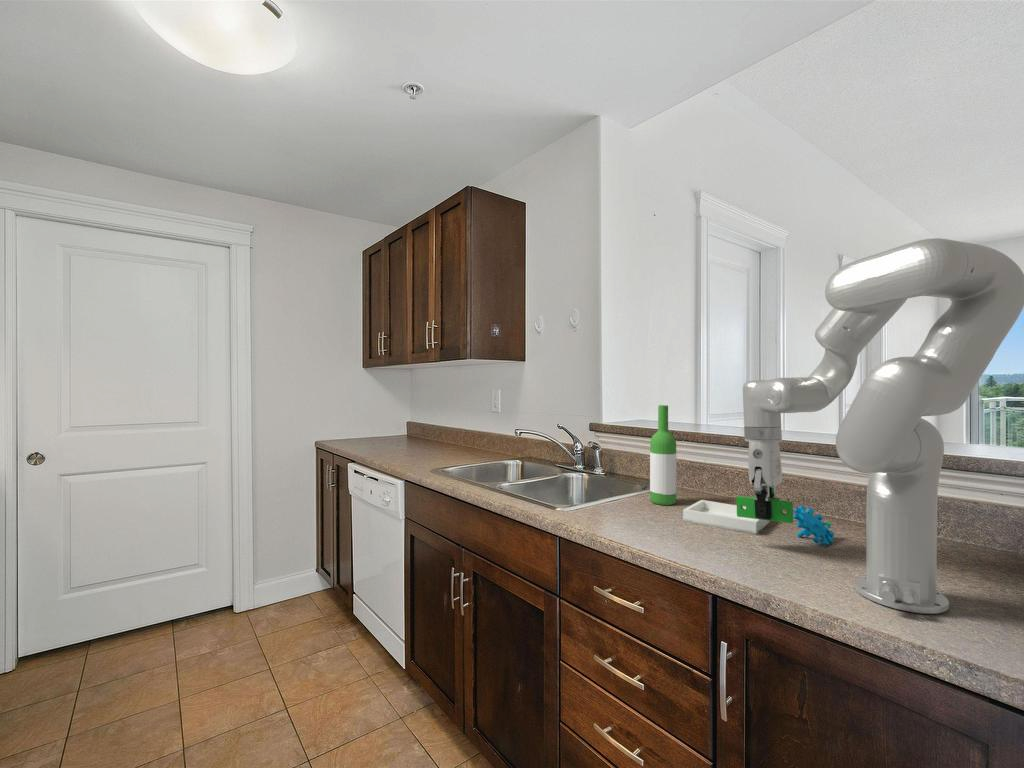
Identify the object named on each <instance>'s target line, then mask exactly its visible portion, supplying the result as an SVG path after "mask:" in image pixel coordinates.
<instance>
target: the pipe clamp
mask: <svg viewBox="0 0 1024 768" xmlns="http://www.w3.org/2000/svg"><path fill="white" fill-rule="evenodd" d="M735 499H736V500H735V501H736V505H737V517H745V518H753V519H760V520H768V519H761V518H756V517H755V495H753V496H752V497H749V496H742V495H741V496H739V495H736V497H735ZM769 501H771V513H772V518H771V519H770V520H768V521H770V522H777V523H784V524H793V523H794V518H793V515H794V512H793V511H794V508H793V507H794V506H793V501H788V500H781V499H780V498H779V497H774V498H773V499H769ZM742 506H744V507H746V509H744V508H743V507H742ZM783 510H784V511H786V513H784V512H783Z"/></svg>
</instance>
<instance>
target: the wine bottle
mask: <svg viewBox="0 0 1024 768" xmlns="http://www.w3.org/2000/svg"><path fill="white" fill-rule="evenodd" d="M657 407H658V408H657V409H658V410H657V411H658V412H657V414H658V415H657V416H658V417H657V420H658V421H657V431H656V432H655V433H654V434H653V435H652V436H651V438H650V443H649V444H650V445H649V454H650V455H649V497H650V502H652V503H653V504H655V505H660V506H670V505H674V504H675V503H676V502H677V442H676V439H675V437H674V435H673V434H672V433H671V432H670V431H669V406H668V404H660V405H658V406H657Z"/></svg>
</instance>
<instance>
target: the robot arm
mask: <svg viewBox="0 0 1024 768" xmlns="http://www.w3.org/2000/svg"><path fill="white" fill-rule="evenodd" d="M824 290H825V291H824V294H825V295H824V296H825V299H826V302H827V303H828V305H829V306H831V307H832V309H831V311H830V312H829V313H828V314H827V315H826V316H825V318H824V319H823V321H822V322H821V323H820V324H819V326H817V328H816V329H815V332H814V337H815V340H816V342H817V343H818V344H819V345H820V346H821V347H823V349H824V355H823V357H822V359H821V361H820V363H819V364H818V365H817V366H816V368H815V369H814V370H813V371H812V372H811V373H810V374H809V375H808V377H803V376H802V377H797V376H796V377H779V378H778V377H777V378H772V379H767V380H765V379H759V380H750V381H748V380H747V381H746V382H744V384H743V386H742V401H743V404H742V405H743V431H744V433H743V434H744V435H743V436H744V441H745V442H748V449H747V450H748V480H749V485H751V486H752V487H753V491H754V496H755V517H756V518H761V519H768V520H770V519H771V518H772V513H771V501H769V499H773V498H776V487H778V486H779V485H780V484H782V482H783V480H784V479H783V471H782V467H783V466H782V456H781V449H780V443H782V442H783V439H782V438H783V436H782V435H783V434H782V414H797V413H815V412H818V411H821V410H823V409H825V408H826V407H828V406H829V405H830V404H832V402H834V401H835V400H836V399H837V398H838V396H840V394H842V392H843V391H845V389H846V388H847V387H848V385H849V384H850V382H851V380H852V379H853V376H854V374H855V371H856V368H857V365H858V357H859V354H860V353H861V352H862V351H863V350H864V348H866V346H867V345H868V344H869V343H870V342H871V341H872V340H873V338H874V337H875V336H876V335H877V334H878V333H879V332H880V331H881V330H882V329H883V327H884V326H885V325H886V324H887V323H888V322H889V321H890V320H891V319H892V318H893V316H894V315H895V314H896V313H897V312H898V311H899V310H900V308H902V307H903V306H904V304H905V303H906V301H907V300H908V299H912V298H913V299H914V298H918V297H930V298H931V297H933V298H943V299H949V300H950V301H951V304H950V305H949V307H948V308H947V310H946V311H945V312H944V313H943V314H942V315H940V317H939V318H938V319H937V320H936V321H935V322H934V323H933V325H932V326H931V327H930V329H929V331H928V333H927V335H926V337H925V339H924V341H923V343H922V344H921V346H920V347H919V349H918V350H917V352H915V353H914V355H913V356H898V357H893V358H890V359H887V360H885V361H883V362H880V364H878V365H877V366H875V367H874V368H873V369H872V370H871V371H870V372H869V373H868V375H867V376H866V377H865V379H864V380H863V382H862V384H861V386H860V387H859V389H858V391H857V393H856V395H855V397H854V399H853V400H852V403H851V404H850V406H849V408H848V409H847V412H846V414H845V415H844V417H843V419H842V420H841V424H840V426H839V427H838V430H837V433H836V436H835V449H836V454H837V455H838V457H839V459H840V460H841V462H842V463H843V464H844V465H846V467H848V468H849V469H851V470H853V471H855V472H858V473H862V474H867V475H868V474H869V477H868V482H867V488H866V502H865V503H866V507H865V508H866V510H865V511H866V515H865V517H866V518H865V520H866V522H865V524H866V525H865V528H866V529H865V532H866V533H865V535H866V536H865V537H866V539H865V541H866V542H865V550H866V551H865V559H866V560H865V562H866V563H865V576H861V577H860V578H857V579H856V580H855V589H856V591H857V592H858V593H859V594H860V595H861V596H863V597H864V598H866V599H868V600H870V601H871V602H875V603H876V604H879V605H882V606H886V607H888V608H890V609H891V608H893V609H895V610H898V611H899V610H900V611H902V612H903V611H904V612H910V613H916V614H923V615H926V614H927V615H933V614H935V615H936V614H942V613H946V612H947V611H949V609H950V601H949V599H948V598H947V597H946V596H945V595H943V594H942V592H939V591H938V590H937V588H938V586H937V584H938V583H937V580H938V579H937V577H938V575H937V574H938V571H937V569H938V567H937V565H938V562H937V560H938V559H937V557H938V554H937V553H938V494H939V493H938V492H939V482H940V475H941V471H942V467H943V461H944V454H945V444H944V439H943V436H942V435H941V433H940V431H939V430H938V429H937V427H936V426H935V425H933V423H931V422H930V421H928V420H926V419H924V418H923V417H934V416H942V415H947V414H948V415H949V414H952V413H953V412H955V411H957V410H959V409H960V408H961V407H962V406H963V405H965V403H966V402H967V400H968V398H969V397H970V395H971V394H972V391H974V389H975V387H976V385H977V384H978V382H979V381H980V378H981V377H982V376H983V374H984V373H985V371H986V369H987V368H988V367H989V365H990V363H991V362H992V360H993V358H994V357H995V354H996V352H998V349H999V348H1000V346H1001V345H1002V343H1003V341H1004V340H1005V339H1006V337H1007V335H1008V334H1009V332H1010V330H1011V329H1012V328H1013V326H1014V325H1015V323H1016V322H1017V320H1018V318H1019V317H1020V316H1021V313H1022V312H1023V309H1024V272H1023V271H1022V269H1021V267H1020V266H1019V265H1018V264H1017V262H1015V261H1014V260H1013V259H1012V258H1010V257H1009V256H1008V255H1006V254H1005V253H1003V252H1001V251H999V250H997V249H995V248H992V247H989V246H986V245H981V244H977V243H972V242H967V241H966V242H963V241H958V240H954V239H948V238H941V237H940V238H938V237H936V238H924V239H920V240H916V241H912V242H909V243H905V244H902V245H899V246H896V247H893V248H890V249H888V250H884V251H881V252H879V253H875V254H872V255H868V256H866V257H862V258H859V259H856V260H854V261H852V262H851V261H850V262H849V263H846V264H845V265H843V266H842V267H840V268H838V269H837V270H836V271H835V272H834V273H832V275H831V276H830V277H829V278H828V281H827V283H826V285H825V289H824Z"/></svg>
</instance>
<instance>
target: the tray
mask: <svg viewBox="0 0 1024 768" xmlns="http://www.w3.org/2000/svg"><path fill="white" fill-rule="evenodd" d="M742 507H743V508H744V509H746V506H745V505H742ZM682 521H684V522H689V523H693V524H697V525H698V524H699V525H703V526H709V527H714V528H719V529H724V530H725V529H726V530H730V531H734V532H735V531H736V532H741V533H745V534H751V535H755V536H756V535H758V534H759V533H760V532H761V531H762V530H763V529H764V528H765V527H766V526H767V525H768V524H770V522H771V521H768V520H760V519H753V518H745V517H737V504H730V503H724V502H717V501H711V500H705V499H701V500H699V501H696V502H695V503H692V504H691V505H689V506H687V507H685V508H683V509H682Z"/></svg>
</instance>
